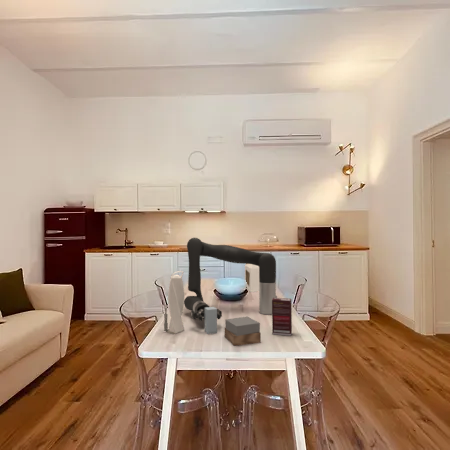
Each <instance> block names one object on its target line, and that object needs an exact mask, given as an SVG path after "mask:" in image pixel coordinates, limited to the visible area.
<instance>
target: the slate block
mask: <svg viewBox="0 0 450 450" xmlns="http://www.w3.org/2000/svg"><path fill="white" fill-rule="evenodd" d="M217 309H218V308H217V307H216V306H209V307H205V319H204V332H205V334H207V335H212V334H218V319H217Z"/></svg>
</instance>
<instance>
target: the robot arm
mask: <svg viewBox="0 0 450 450" xmlns="http://www.w3.org/2000/svg"><path fill="white" fill-rule="evenodd" d="M186 243H187V244H186V249H187V255H188V278H187V279H188V281H187V284H188V285H187V290H188V292H192V293H195V295H188V296H186V297H184V308H186V309H187V310H188V311H191V312H190V315H191V316H190V317H191V318H192V320H196V319H197V320H199V321H200V322H203V320H205V307H210V306H209V304H207V303H206V302H205V301H204V298H203V294H202V288H201V286H202V285H201V279H202V277H201V276H202V275H201V256H202V257H210V258H213V259H217V260H219V261H223V262H228V263H233V264H241V265H242V264H245V265H246V264H253V265H257V266H259V292H258V295H259V296H258V297H259V300H258V302H259V303H258V304H259V307H258V310H259V311H258V312H259V314H261V315H272V299H273V298H278V296H277V292H276V291H277V288H276V287H277V284H276V283H277V281H276V280H277V262H276V261H277V260H276V258H275V256H274V255H273V254H271V253H269V252H257V251H252V250H248V249H245V248H242V247H238V246H233V245H227V244H211V243H208V242H204V241H202V240H201V239H200V238H198V237H191V238H190V239H188V241H187V242H186ZM216 309H217V320H221V318H222V317H223V311H222V310H221V309H219V308H216Z"/></svg>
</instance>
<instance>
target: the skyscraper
mask: <svg viewBox="0 0 450 450" xmlns="http://www.w3.org/2000/svg"><path fill="white" fill-rule="evenodd" d="M184 272H185V271H183V270H179V271H178V270H177V271H174V272H173V273H172V274H171V275H170V280H169V284H168V285H169V286H168V295H167V296H168V297H167V299H168V301H167V303H168V308H167V307H165V308H164V311H165V312H164V314H163V315H164V322H163V328H164V329H163V331H166V332H165V333H167V334H170V335H176V334H179V333H182V332H185V327H184V323H183V317H182V315H183V312H184V311H183V310H184V307H185V305H184V300H185V287H184V281H183V275H184ZM176 273H181V275H179V274H176ZM167 309H168V310H169V315H170V320H169V321H170V322H169V323H168V313H167Z"/></svg>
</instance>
